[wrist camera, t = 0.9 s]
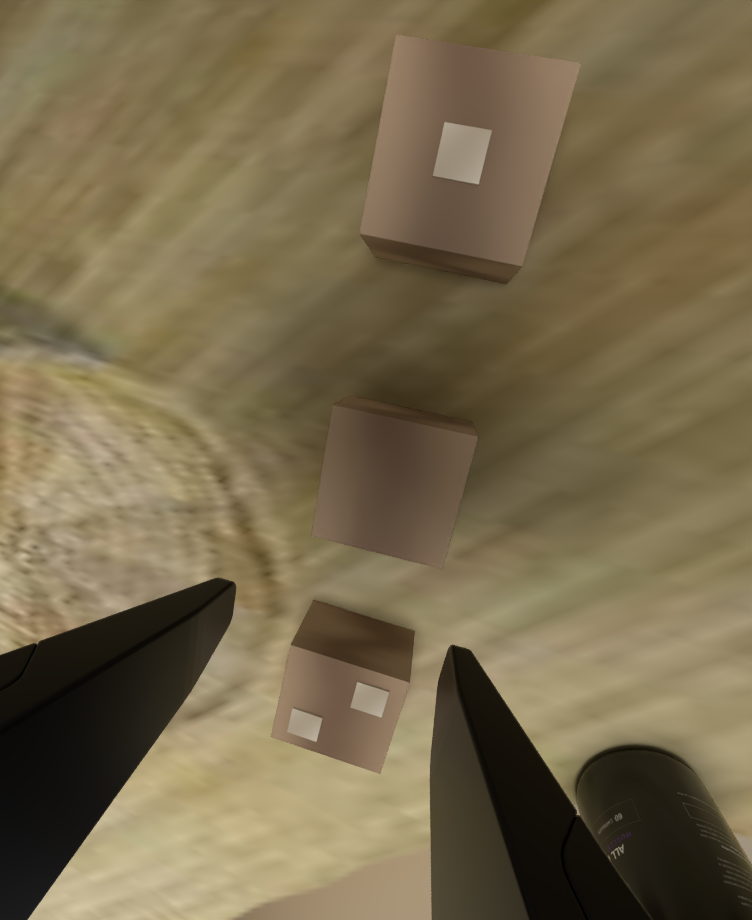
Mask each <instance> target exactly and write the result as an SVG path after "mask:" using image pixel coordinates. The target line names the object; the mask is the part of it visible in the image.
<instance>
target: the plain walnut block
mask: <svg viewBox="0 0 752 920" xmlns="http://www.w3.org/2000/svg"><path fill="white" fill-rule="evenodd" d="M477 440H478V435H477V433H476V430H475V428H474V426H473V424H472V422H471V421H466V420H462V419H457V418H452V417H448V416H443V415H438V414H434V413H429V412H424V411H420V410H415V409H411V408H406V407H401V406H397V405H392V404H387V403H383V402H378V401H373V400H369V399H364V398H360V397H355V396H350V397H348V398H346V399H344V400H342V401H340V402H337V403H335V404H333V405H332V411H331V417H330V423H329V429H328V435H327V441H326V447H325V453H324V459H323V465H322V471H321V478H320V484H319V490H318V496H317V502H316V508H315V514H314V520H313V526H312V532H311V536H313V537H317V538H321V539H325V540H329V541H333V542H337V543H341V544H345V545H349V546H353V547H357V548H361V549H365V550H369V551H372V552H376V553H380V554H384V555H388V556H392V557H396V558H400V559H404V560H408V561H412V562H416V563H420V564H424V565H428V566H432V567H436V568H440V569H443V567H444V563H445V559H446V555H447V552H448V548H449V544H450V541H451V537H452V533H453V529H454V526H455V522H456V518H457V514H458V511H459V507H460V503H461V499H462V496H463V492H464V488H465V485H466V481H467V477H468V473H469V470H470V466H471V462H472V458H473V455H474V451H475V447H476V444H477Z"/></svg>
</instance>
